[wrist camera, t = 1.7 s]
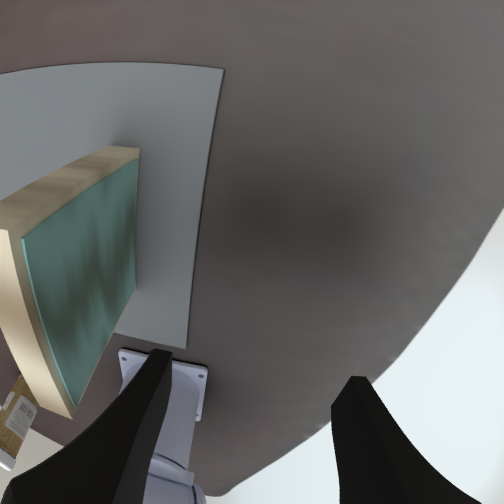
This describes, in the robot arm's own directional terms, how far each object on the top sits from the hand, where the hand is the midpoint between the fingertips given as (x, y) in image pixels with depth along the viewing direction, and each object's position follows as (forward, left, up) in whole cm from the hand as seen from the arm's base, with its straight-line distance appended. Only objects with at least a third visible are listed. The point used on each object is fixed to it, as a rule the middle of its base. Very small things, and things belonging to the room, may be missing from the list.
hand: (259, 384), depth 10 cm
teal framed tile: (0, +9, -10) cm, 13 cm away
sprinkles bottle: (-26, +25, -11) cm, 38 cm away
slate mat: (0, +15, -10) cm, 18 cm away
